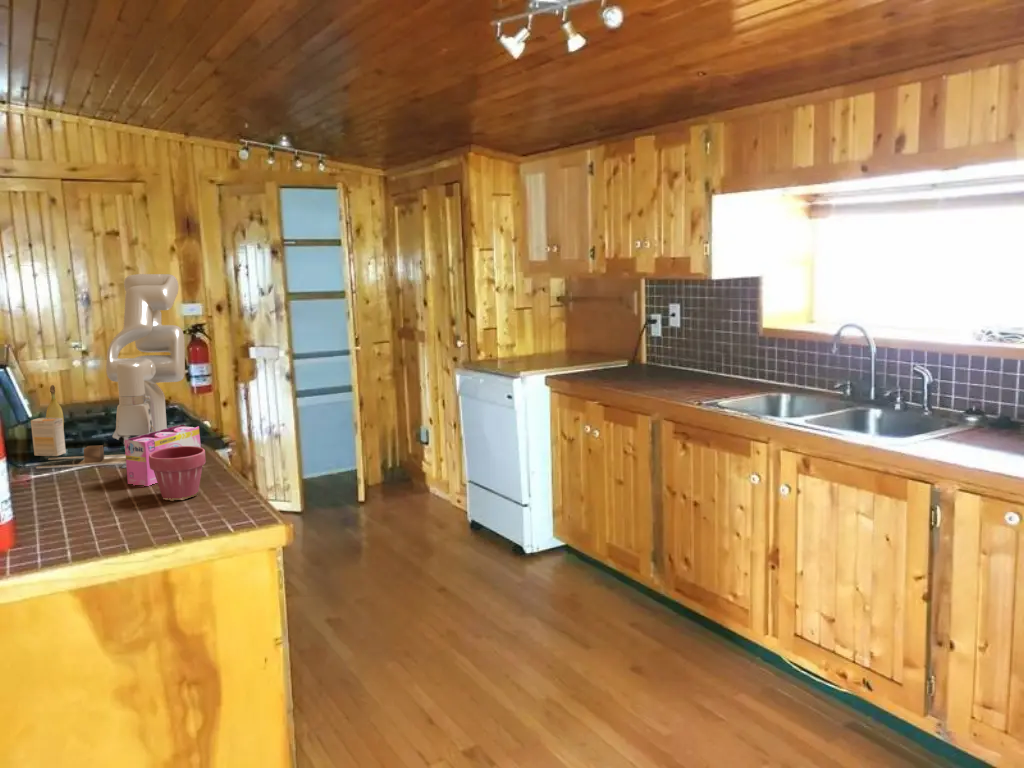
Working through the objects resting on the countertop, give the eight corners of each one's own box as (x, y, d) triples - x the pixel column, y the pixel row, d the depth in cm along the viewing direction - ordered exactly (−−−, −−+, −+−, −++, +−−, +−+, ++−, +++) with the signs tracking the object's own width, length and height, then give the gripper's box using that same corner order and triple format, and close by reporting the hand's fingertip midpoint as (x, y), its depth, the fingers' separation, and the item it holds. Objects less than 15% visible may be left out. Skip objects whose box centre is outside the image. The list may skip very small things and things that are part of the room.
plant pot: (147, 506, 211) (144, 459, 209) (156, 491, 224) (153, 447, 222) (204, 502, 214) (202, 456, 212) (209, 487, 228) (207, 444, 226)
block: (104, 458, 255) (103, 445, 254) (100, 462, 251) (99, 448, 250) (88, 459, 254) (87, 445, 253) (84, 463, 250) (83, 449, 249)
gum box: (186, 465, 253) (183, 423, 251) (206, 467, 250) (203, 425, 248) (126, 484, 231) (123, 439, 229) (147, 487, 228) (144, 441, 226)
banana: (58, 451, 270) (53, 393, 266) (39, 453, 267) (33, 394, 264) (67, 437, 290) (62, 384, 287) (48, 439, 288) (43, 384, 285)
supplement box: (66, 456, 263) (63, 417, 261) (57, 459, 259) (53, 420, 257) (43, 455, 264) (40, 417, 262) (33, 459, 260) (30, 419, 258)
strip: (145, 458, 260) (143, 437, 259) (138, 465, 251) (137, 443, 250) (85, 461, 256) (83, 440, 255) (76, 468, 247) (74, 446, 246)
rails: (149, 457, 262) (149, 453, 261) (140, 466, 250) (140, 462, 250) (49, 462, 255) (49, 457, 255) (36, 472, 244) (35, 467, 243)
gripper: (162, 397, 257) (166, 452, 260) (107, 399, 254) (112, 455, 257) (157, 401, 250) (161, 458, 253) (101, 403, 247) (105, 460, 250)
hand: (136, 455), depth 255 cm, fingers closed on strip, 3 cm apart
